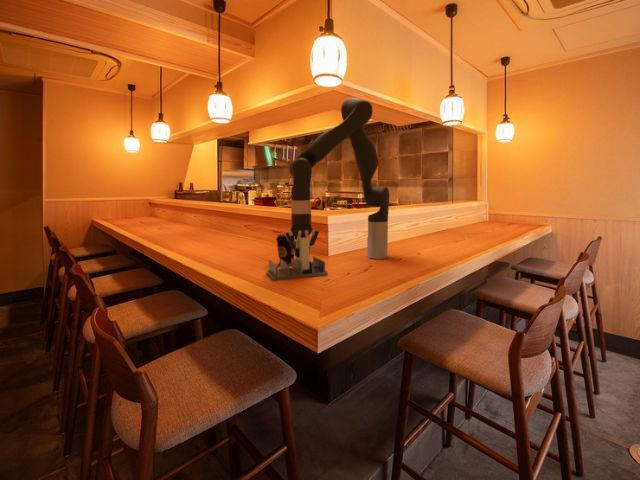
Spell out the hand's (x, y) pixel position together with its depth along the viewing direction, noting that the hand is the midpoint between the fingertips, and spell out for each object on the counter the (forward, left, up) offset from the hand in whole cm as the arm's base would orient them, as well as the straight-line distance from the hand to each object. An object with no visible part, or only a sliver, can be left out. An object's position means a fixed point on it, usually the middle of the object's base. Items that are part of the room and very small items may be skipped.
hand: (302, 256), depth 131 cm
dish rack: (0, -2, -7) cm, 7 cm away
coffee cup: (-19, -1, -7) cm, 20 cm away
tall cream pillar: (0, 0, -4) cm, 4 cm away
